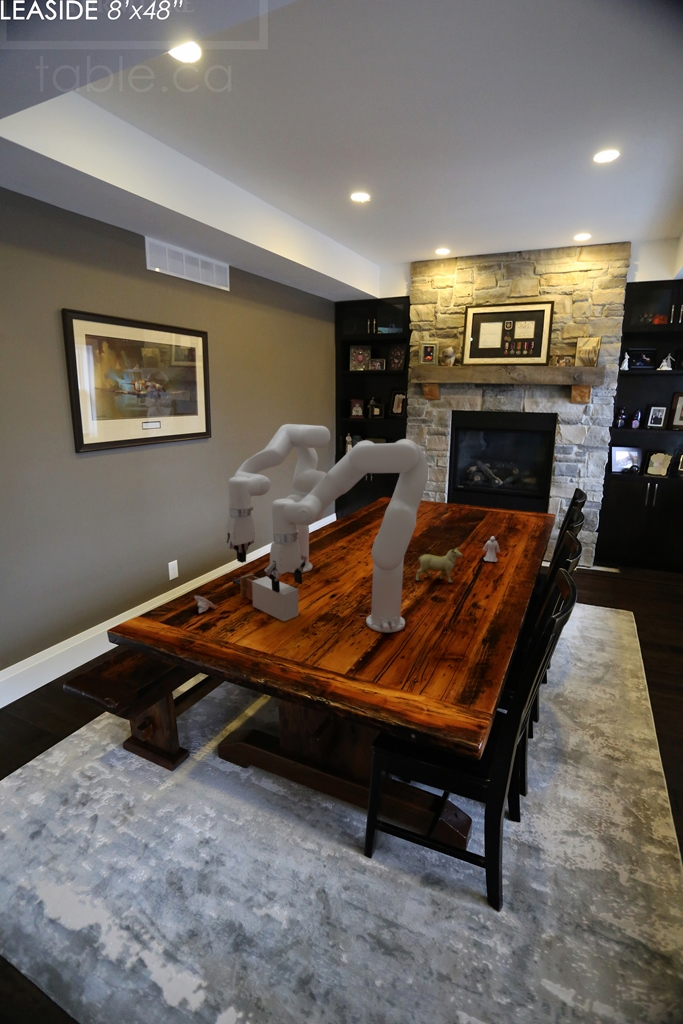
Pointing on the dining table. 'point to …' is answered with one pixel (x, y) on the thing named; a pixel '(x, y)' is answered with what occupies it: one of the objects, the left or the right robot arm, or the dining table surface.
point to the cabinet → (275, 599)
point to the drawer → (246, 585)
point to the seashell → (203, 604)
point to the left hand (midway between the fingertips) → (241, 561)
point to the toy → (439, 563)
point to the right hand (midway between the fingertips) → (287, 587)
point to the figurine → (491, 550)
